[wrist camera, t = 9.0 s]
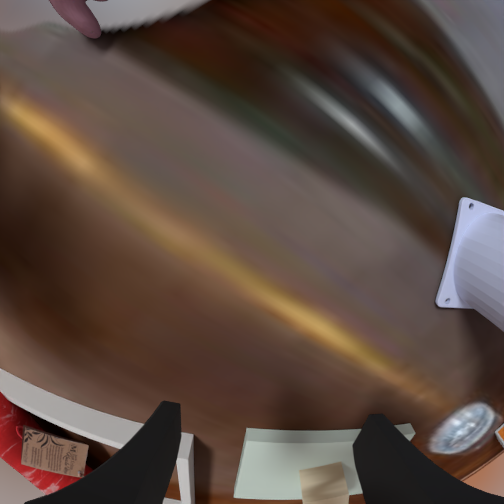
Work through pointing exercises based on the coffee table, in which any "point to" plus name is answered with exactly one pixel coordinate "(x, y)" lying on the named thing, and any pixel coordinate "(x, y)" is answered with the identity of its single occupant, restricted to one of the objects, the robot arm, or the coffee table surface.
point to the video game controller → (78, 16)
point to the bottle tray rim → (94, 426)
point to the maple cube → (324, 485)
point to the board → (294, 460)
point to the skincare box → (500, 434)
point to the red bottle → (39, 450)
